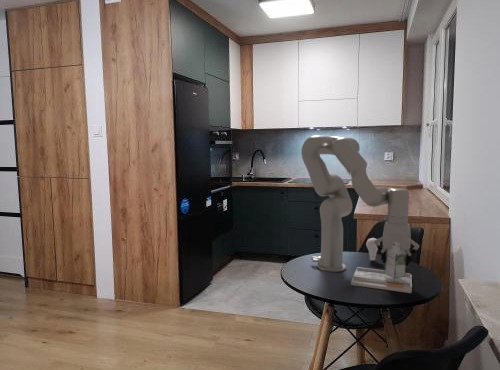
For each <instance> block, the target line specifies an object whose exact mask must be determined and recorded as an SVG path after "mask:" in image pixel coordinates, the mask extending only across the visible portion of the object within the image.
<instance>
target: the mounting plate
mask: <svg viewBox="0 0 500 370" xmlns="http://www.w3.org/2000/svg"><path fill="white" fill-rule="evenodd" d="M356 271H357V268H356V269H355V272H354V273H353V276H355V273H356ZM412 276H413V275H412V274H410V287H404V286H403V285H400V284H392V283H386V284H381V283H374V282H366V281H359V280H353V277H352V279H351V280H350V285H351V286H355V287H364V288H365V287H366V288H372V289H378V290H379V289H380V290H386V291H392V292H393V291H394V292H400V293H406V294H407V293H408V294H412V291H413V289H412V288H413V283H412V279H413V278H412Z"/></svg>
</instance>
